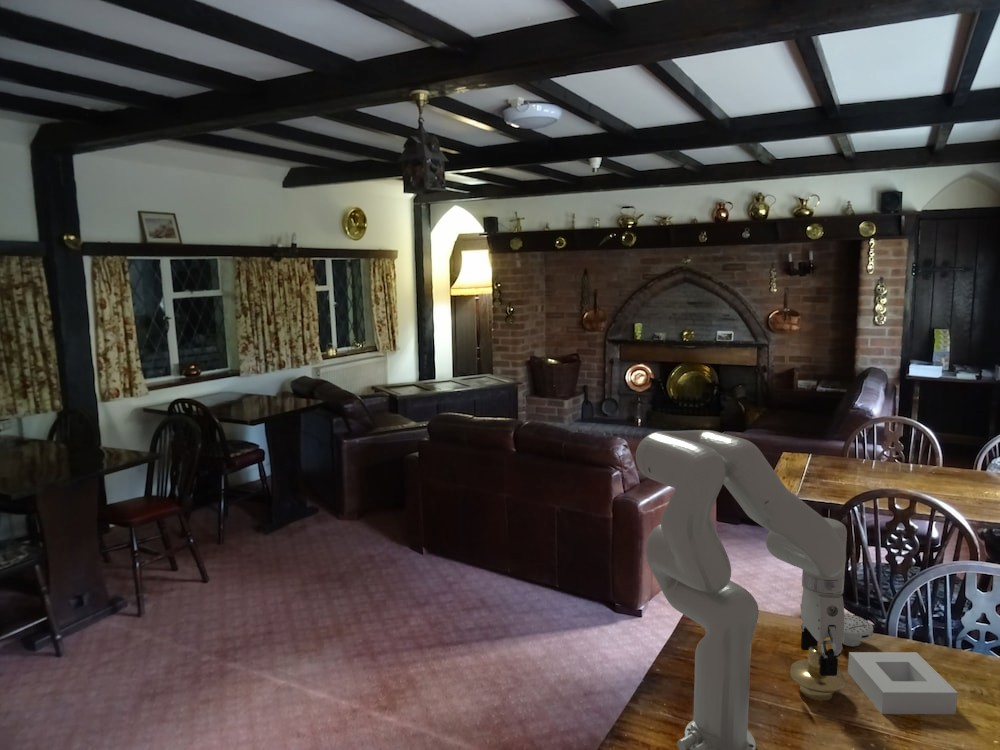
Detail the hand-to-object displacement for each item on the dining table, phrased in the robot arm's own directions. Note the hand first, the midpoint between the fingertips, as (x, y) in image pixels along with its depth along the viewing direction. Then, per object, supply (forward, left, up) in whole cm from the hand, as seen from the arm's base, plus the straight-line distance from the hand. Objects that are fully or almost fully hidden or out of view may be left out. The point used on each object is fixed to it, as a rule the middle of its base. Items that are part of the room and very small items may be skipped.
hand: (818, 661), depth 140 cm
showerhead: (+23, +6, -8) cm, 25 cm away
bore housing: (+13, -10, -8) cm, 18 cm away
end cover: (0, 0, -8) cm, 8 cm away
